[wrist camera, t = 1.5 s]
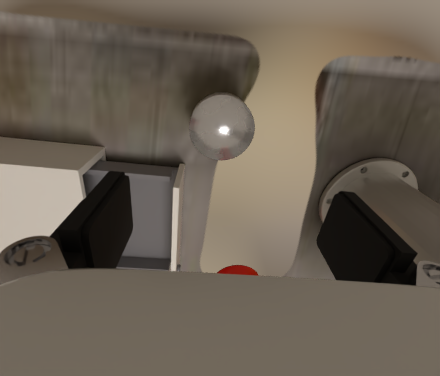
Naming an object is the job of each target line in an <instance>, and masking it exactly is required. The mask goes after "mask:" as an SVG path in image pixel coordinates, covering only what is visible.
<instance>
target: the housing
mask: <svg viewBox="0 0 440 376" xmlns="http://www.w3.org/2000/svg"><path fill="white" fill-rule="evenodd" d="M98 160H101V161H106V153H105V147H99V146H89V145H79V144H69V143H59V142H48V141H38V140H28V139H18V138H8V137H0V253H1V251H2V250H4V249H5V248H6V247H7V246H9V245H11V244H12V243H14V242H16V241H18V240H21V239H24V238H27V237H32V236H50V235H51V234H52V233H53V232H54V231H55V230H56V229H57V227H58V226H59V225H60V224H61V223H62V222H63V221H64V220H65V219H66V217H67V216H68V215H69V214H70V213H71V212H72V211H73V210H74V209H75V207H76V206H77V205H78V204H79V203H80V202H81V201H82V200H83V199H85V198H86V193H85V188H84V182H83V176H82V175H83V174H84V173H85V172H86V171H88V170H89V169H90V168H91V167H92V166H93V165H94V164H95V163H96V162H97V161H98Z"/></svg>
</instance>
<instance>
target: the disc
mask: <svg viewBox="0 0 440 376" xmlns="http://www.w3.org/2000/svg"><path fill="white" fill-rule="evenodd" d="M254 127H255V125H254V119H253V116H252V114H251V112H250V110H249V108H248V107H247V106H246V104H245V103H244V102H243V101H242V100H241V99H240V98H239V97H237V96H235V95H233V94H231V93H226V92H216V93H212V94H210V95H207V96H206V97H204V98H203V99H201V100H200V101H199V102H198V104H197V105H196V107H195V108H194V110H193V113H192V116H191V119H190V124H189V132H190V137H191V140H192V142H193V144H194V146H195V147H196V149H197V150H198V151H199V152H200V153H202V154H203V155H205V156H206V157H208V158H211V159H214V160H228V159H232V158H235V157H237V156H239V155H240V154H242V153H243V152H244V151H245V150H246V149H247V147H248V146H249V145H250V143H251V141H252V139H253V135H254V129H255V128H254Z"/></svg>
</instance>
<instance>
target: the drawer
mask: <svg viewBox="0 0 440 376" xmlns="http://www.w3.org/2000/svg"><path fill="white" fill-rule="evenodd" d="M109 171H119V172H124V173H125V175H127V176H129V179H130V191H131V204H132V217H133V231H132V234H131V236H130V238H129V241H128V243H127V245H126V247H125V249H124V252H123V254H122V256H121V258H120V260H119V263H118V265H117V267H116V268H118V269H143V270H163V271H169V266H170V262H171V271H180V266H181V265H180V264H179V261H180V248H181V228H182V209H183V190H184V171H185V164H180V165H179V168H176V167H165V166H155V165H144V164H133V163H122V162H112V161H101V160H98V161H97V162H96V163H95V164H94V165H93V166H92V167H91V168H90V169H89V170H88V171H86V172H85V173H84V174H83V175H82V176H83V182H84V188H85V193H86V196H87V195H88V194H89V193H90V192H91V191H92V190H93V189H94V187H95V186H96V185H97V184H98V183H99V182H100V181H101V180H102V179H103V177H104V176H105V175H106V174H107V173H108V172H109Z"/></svg>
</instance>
